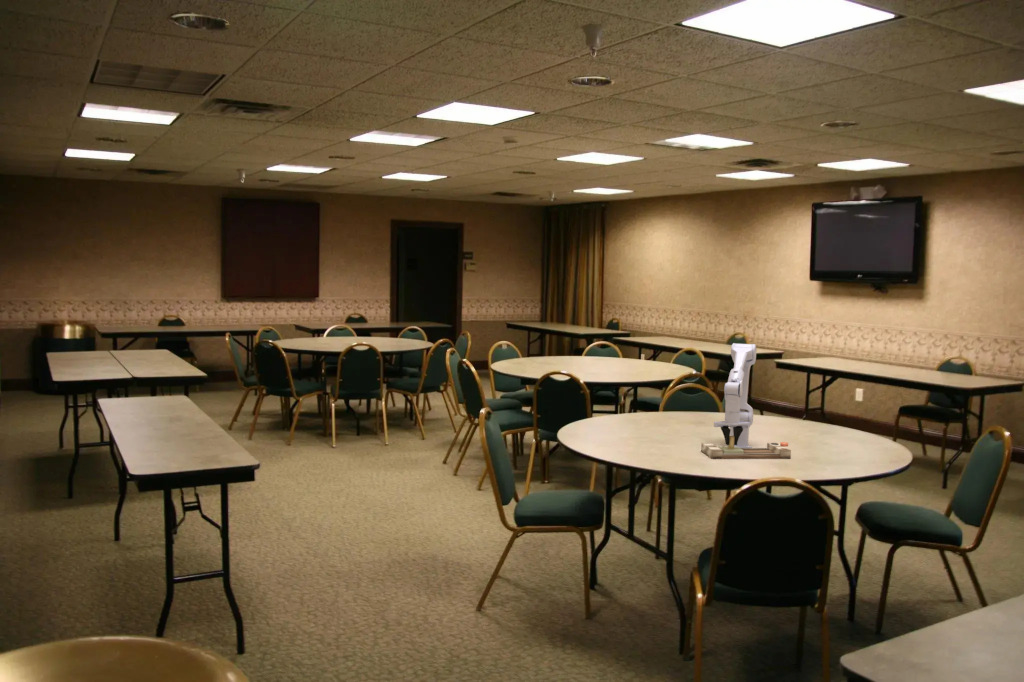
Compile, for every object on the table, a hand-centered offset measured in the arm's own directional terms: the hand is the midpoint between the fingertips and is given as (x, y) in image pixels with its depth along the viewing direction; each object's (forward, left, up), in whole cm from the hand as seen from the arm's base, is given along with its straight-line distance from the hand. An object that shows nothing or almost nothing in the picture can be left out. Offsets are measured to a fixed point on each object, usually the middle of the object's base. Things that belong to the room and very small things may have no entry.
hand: (731, 444), depth 321 cm
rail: (0, +6, -4) cm, 7 cm away
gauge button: (+5, +20, +1) cm, 21 cm away
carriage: (0, 0, -3) cm, 3 cm away
